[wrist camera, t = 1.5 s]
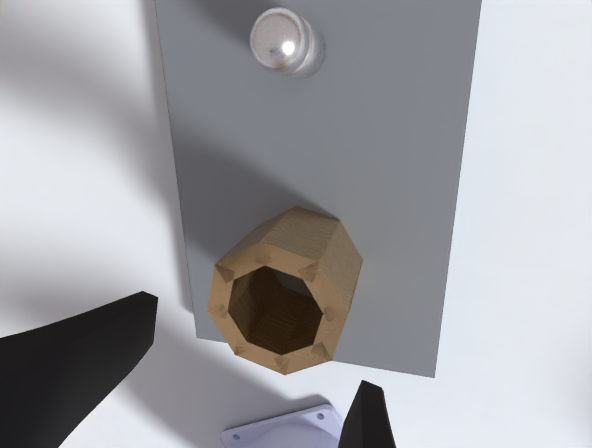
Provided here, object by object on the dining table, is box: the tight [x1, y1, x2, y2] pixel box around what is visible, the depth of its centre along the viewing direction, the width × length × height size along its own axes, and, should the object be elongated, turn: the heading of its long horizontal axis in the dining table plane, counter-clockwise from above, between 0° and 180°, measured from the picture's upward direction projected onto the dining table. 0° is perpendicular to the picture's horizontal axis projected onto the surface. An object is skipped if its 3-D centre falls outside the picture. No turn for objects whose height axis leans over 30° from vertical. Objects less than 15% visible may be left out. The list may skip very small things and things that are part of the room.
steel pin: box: [250, 7, 326, 78], centre depth 14 cm, size 2×2×4 cm
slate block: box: [155, 0, 482, 378], centre depth 19 cm, size 20×14×2 cm
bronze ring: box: [206, 205, 363, 375], centre depth 17 cm, size 6×6×5 cm
